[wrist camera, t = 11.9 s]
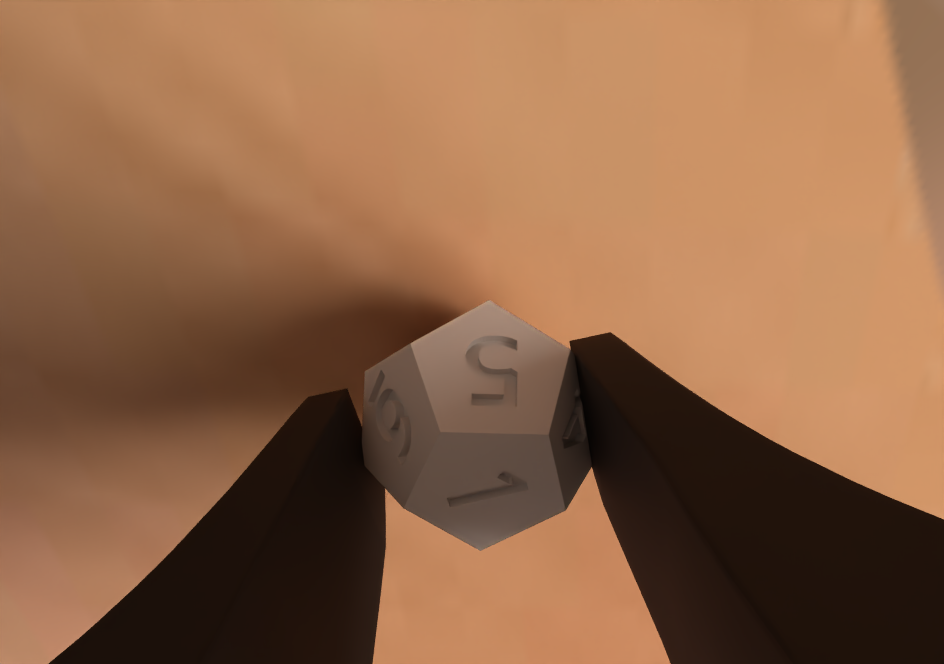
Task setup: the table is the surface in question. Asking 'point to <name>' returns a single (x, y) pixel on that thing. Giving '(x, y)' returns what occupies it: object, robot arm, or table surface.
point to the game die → (478, 426)
